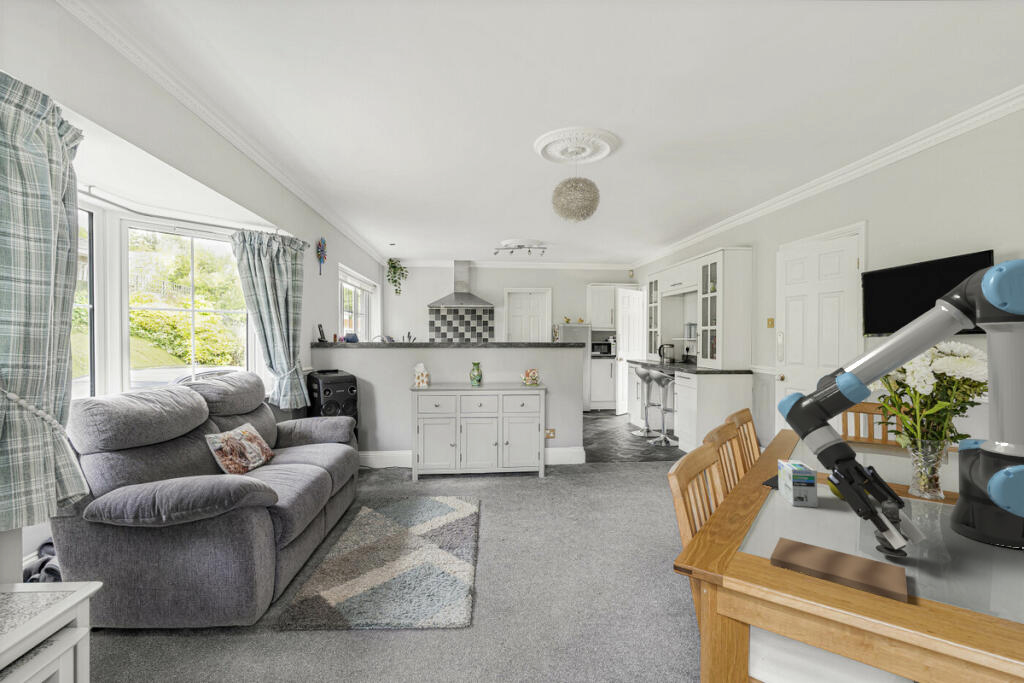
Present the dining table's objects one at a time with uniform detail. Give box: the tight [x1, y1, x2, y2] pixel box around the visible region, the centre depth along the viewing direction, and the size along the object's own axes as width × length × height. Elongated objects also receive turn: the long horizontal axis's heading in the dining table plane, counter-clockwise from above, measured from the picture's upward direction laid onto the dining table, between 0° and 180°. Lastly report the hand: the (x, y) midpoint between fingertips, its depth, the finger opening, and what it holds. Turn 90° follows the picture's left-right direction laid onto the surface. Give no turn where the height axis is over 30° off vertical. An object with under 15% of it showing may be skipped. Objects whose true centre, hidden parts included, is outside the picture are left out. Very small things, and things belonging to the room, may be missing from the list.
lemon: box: [826, 479, 871, 501], centre depth 128 cm, size 11×8×8 cm
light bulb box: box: [777, 459, 819, 508], centre depth 129 cm, size 11×7×11 cm, turn 169°
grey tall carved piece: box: [873, 497, 910, 558], centre depth 95 cm, size 6×6×12 cm
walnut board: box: [770, 536, 909, 604], centre depth 91 cm, size 22×12×2 cm, turn 49°
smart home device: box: [761, 473, 779, 491], centre depth 144 cm, size 8×2×20 cm
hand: (911, 543), depth 92 cm, fingers closed on grey tall carved piece, 5 cm apart
